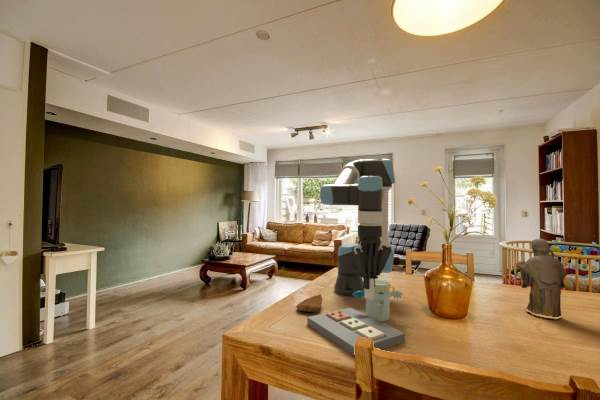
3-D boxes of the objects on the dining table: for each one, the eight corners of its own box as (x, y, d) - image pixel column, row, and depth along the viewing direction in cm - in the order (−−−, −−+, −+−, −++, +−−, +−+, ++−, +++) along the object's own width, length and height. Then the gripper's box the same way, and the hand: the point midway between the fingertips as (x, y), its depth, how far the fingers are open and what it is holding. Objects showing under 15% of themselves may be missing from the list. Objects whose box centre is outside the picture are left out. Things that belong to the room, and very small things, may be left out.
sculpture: (567, 315, 114) (567, 239, 115) (566, 323, 107) (566, 242, 107) (518, 306, 125) (518, 236, 125) (514, 312, 117) (514, 238, 118)
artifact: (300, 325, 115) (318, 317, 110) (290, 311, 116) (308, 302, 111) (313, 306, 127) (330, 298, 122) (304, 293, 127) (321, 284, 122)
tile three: (339, 318, 108) (339, 309, 108) (350, 324, 103) (350, 314, 103) (326, 321, 105) (326, 312, 105) (336, 327, 100) (336, 318, 100)
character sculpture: (356, 323, 104) (356, 286, 104) (349, 312, 116) (349, 278, 116) (410, 323, 105) (411, 286, 105) (398, 312, 116) (399, 278, 116)
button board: (350, 313, 113) (350, 307, 114) (405, 341, 91) (405, 333, 91) (307, 324, 103) (307, 317, 103) (356, 357, 81) (356, 348, 81)
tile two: (354, 326, 101) (354, 316, 101) (366, 332, 96) (366, 322, 96) (340, 329, 98) (340, 320, 98) (352, 337, 93) (352, 326, 93)
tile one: (370, 335, 94) (370, 325, 94) (384, 343, 89) (384, 332, 89) (356, 339, 91) (356, 329, 91) (370, 347, 86) (370, 336, 86)
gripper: (375, 223, 99) (375, 292, 99) (346, 224, 92) (345, 298, 92) (393, 224, 92) (392, 298, 92) (362, 226, 86) (362, 305, 86)
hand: (369, 298), depth 92 cm, fingers closed
